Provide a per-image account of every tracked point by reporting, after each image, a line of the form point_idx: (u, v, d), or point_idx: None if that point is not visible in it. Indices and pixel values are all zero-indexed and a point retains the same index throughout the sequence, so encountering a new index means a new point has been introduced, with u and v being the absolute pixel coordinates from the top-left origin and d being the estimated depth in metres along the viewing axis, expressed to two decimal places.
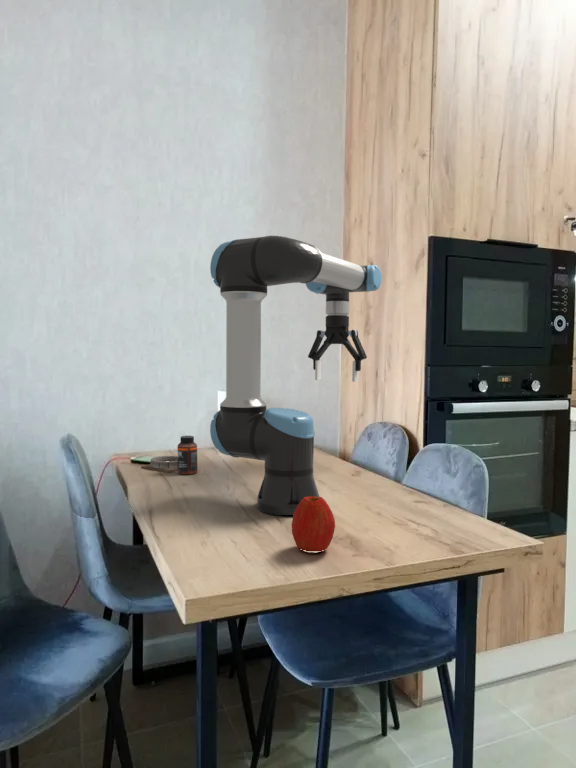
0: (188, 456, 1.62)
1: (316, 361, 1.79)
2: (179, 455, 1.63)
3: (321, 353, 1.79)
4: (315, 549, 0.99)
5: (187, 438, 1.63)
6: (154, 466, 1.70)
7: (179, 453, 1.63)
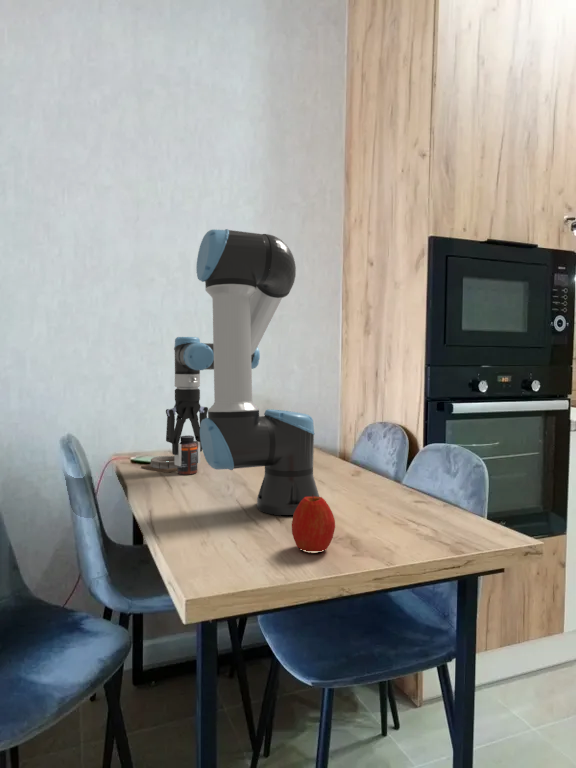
0: (188, 456, 1.62)
1: None
2: None
3: (195, 431, 1.67)
4: (315, 549, 0.99)
5: (187, 438, 1.63)
6: (154, 466, 1.70)
7: None
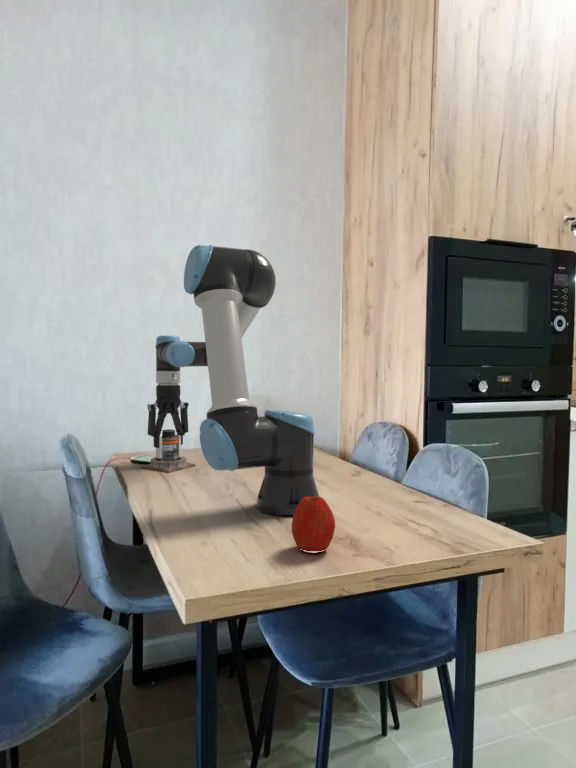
0: None
1: None
2: (174, 448, 1.71)
3: (176, 426, 1.75)
4: (315, 549, 0.99)
5: (174, 431, 1.73)
6: (154, 466, 1.70)
7: (174, 446, 1.71)
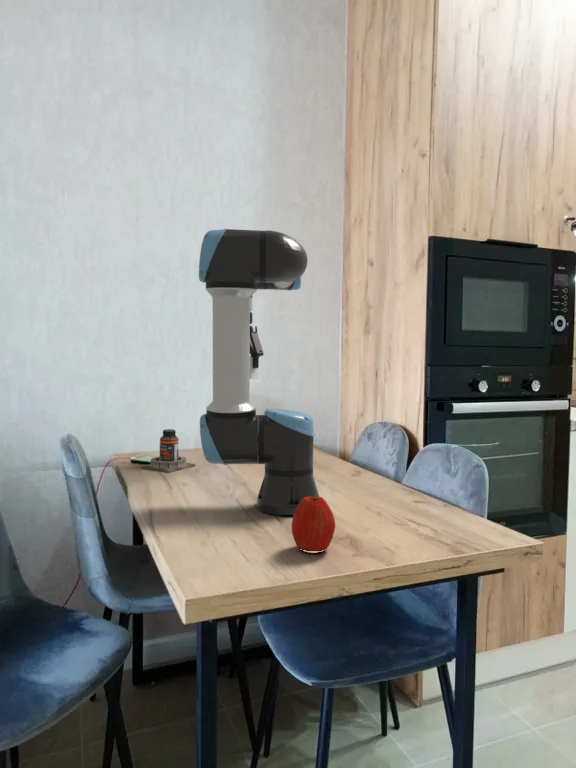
0: None
1: None
2: None
3: None
4: (315, 549, 0.99)
5: None
6: (154, 466, 1.70)
7: None
